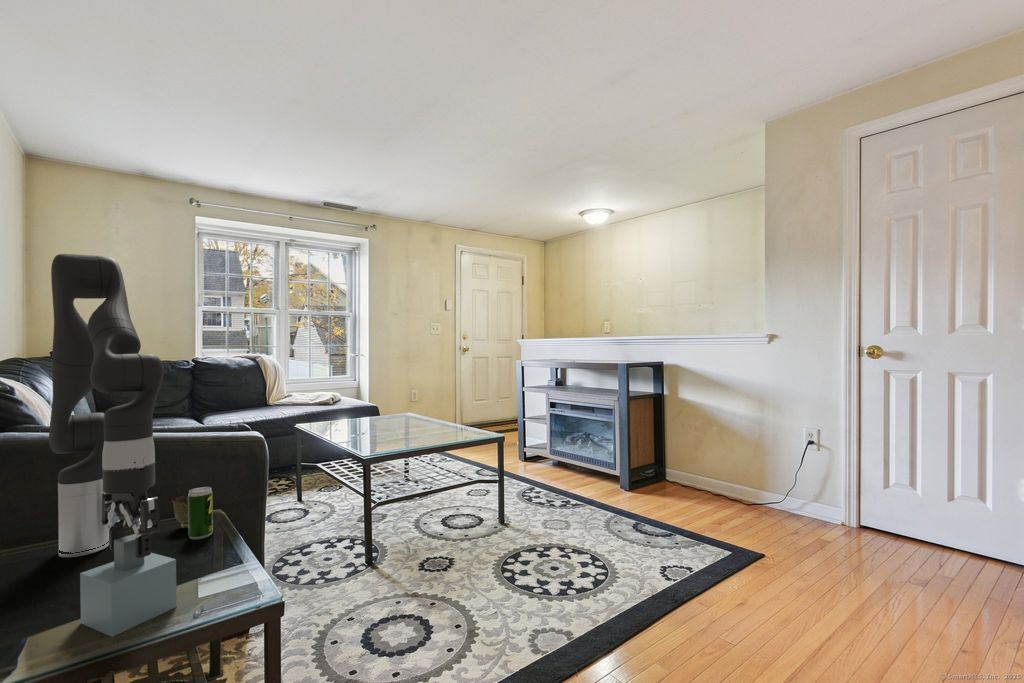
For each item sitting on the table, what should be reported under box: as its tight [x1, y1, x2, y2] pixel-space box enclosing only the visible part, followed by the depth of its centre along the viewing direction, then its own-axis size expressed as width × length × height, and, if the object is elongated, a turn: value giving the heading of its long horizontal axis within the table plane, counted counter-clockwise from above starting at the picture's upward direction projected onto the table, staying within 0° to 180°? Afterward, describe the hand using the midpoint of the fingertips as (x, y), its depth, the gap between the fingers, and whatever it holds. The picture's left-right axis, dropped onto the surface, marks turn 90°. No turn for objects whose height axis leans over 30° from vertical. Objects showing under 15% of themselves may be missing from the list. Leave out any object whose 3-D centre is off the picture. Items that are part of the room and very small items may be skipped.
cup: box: [171, 495, 188, 529], centre depth 133 cm, size 8×7×8 cm
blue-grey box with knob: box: [79, 533, 178, 638], centre depth 88 cm, size 10×10×14 cm
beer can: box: [187, 486, 214, 540], centre depth 126 cm, size 5×5×12 cm
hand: (130, 552), depth 88 cm, fingers open, 8 cm apart
